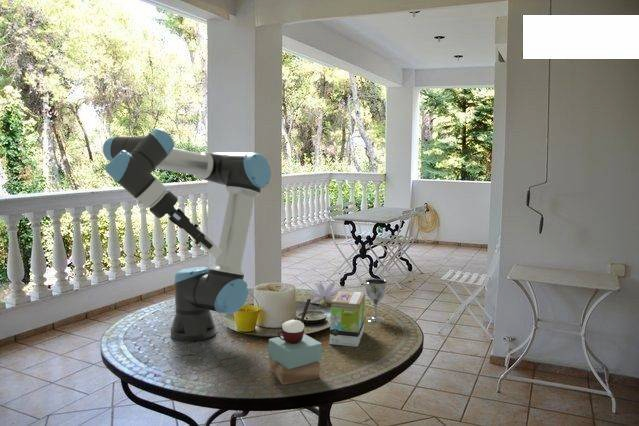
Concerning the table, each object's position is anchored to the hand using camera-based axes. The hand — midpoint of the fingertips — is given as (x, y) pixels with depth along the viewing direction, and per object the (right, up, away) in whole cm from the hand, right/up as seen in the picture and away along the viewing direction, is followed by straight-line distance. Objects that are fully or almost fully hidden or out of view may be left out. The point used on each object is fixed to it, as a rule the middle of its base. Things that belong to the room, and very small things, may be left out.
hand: (214, 250), depth 145 cm
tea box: (+39, -32, +29) cm, 59 cm away
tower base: (+23, -36, +1) cm, 42 cm away
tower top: (+23, -31, +1) cm, 38 cm away
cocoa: (+23, -26, 0) cm, 35 cm away
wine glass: (+51, -30, +49) cm, 77 cm away
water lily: (+32, -28, +67) cm, 80 cm away
